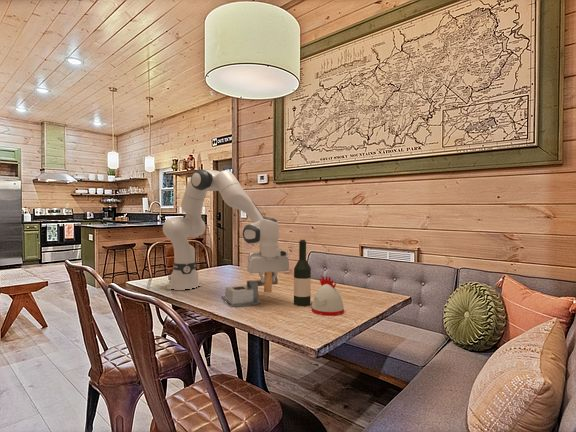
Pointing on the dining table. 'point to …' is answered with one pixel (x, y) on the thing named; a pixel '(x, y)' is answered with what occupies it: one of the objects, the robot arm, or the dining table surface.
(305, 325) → the dining table surface
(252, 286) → the mount
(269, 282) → the orange rounded cylinder
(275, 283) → the crank handle
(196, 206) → the robot arm
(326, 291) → the kitchen timer
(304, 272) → the wine bottle
